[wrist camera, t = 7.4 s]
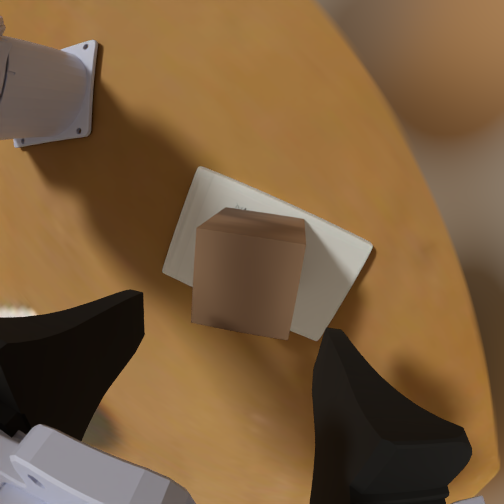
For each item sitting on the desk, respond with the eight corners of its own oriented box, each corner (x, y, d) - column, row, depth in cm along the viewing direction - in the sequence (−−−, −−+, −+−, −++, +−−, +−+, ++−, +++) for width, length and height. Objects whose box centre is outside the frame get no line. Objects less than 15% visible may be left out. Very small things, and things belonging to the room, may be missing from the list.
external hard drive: (316, 332, 24) (168, 266, 24) (369, 239, 21) (204, 164, 21) (317, 343, 22) (159, 274, 22) (374, 246, 19) (197, 165, 19)
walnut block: (218, 279, 22) (191, 322, 16) (225, 207, 20) (196, 227, 14) (291, 292, 21) (287, 340, 15) (304, 218, 20) (306, 244, 14)
